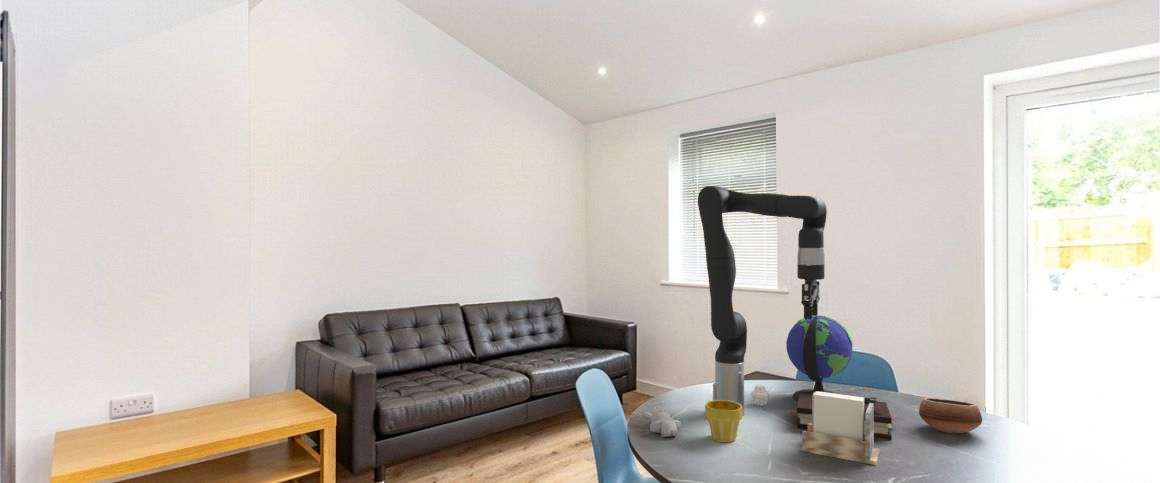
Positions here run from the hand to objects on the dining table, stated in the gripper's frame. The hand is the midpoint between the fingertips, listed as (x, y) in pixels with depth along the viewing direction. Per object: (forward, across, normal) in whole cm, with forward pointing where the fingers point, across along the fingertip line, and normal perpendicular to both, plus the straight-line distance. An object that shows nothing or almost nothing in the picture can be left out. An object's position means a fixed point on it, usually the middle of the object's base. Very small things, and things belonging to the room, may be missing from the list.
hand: (810, 317), depth 168 cm
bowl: (+34, -21, +35) cm, 53 cm away
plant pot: (+34, +20, -20) cm, 44 cm away
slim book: (+33, +13, +10) cm, 37 cm away
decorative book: (+35, -11, +7) cm, 37 cm away
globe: (+34, -37, -4) cm, 51 cm away
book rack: (+34, +13, +10) cm, 38 cm away
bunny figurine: (+34, +23, -38) cm, 56 cm away
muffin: (+34, -19, -20) cm, 44 cm away
